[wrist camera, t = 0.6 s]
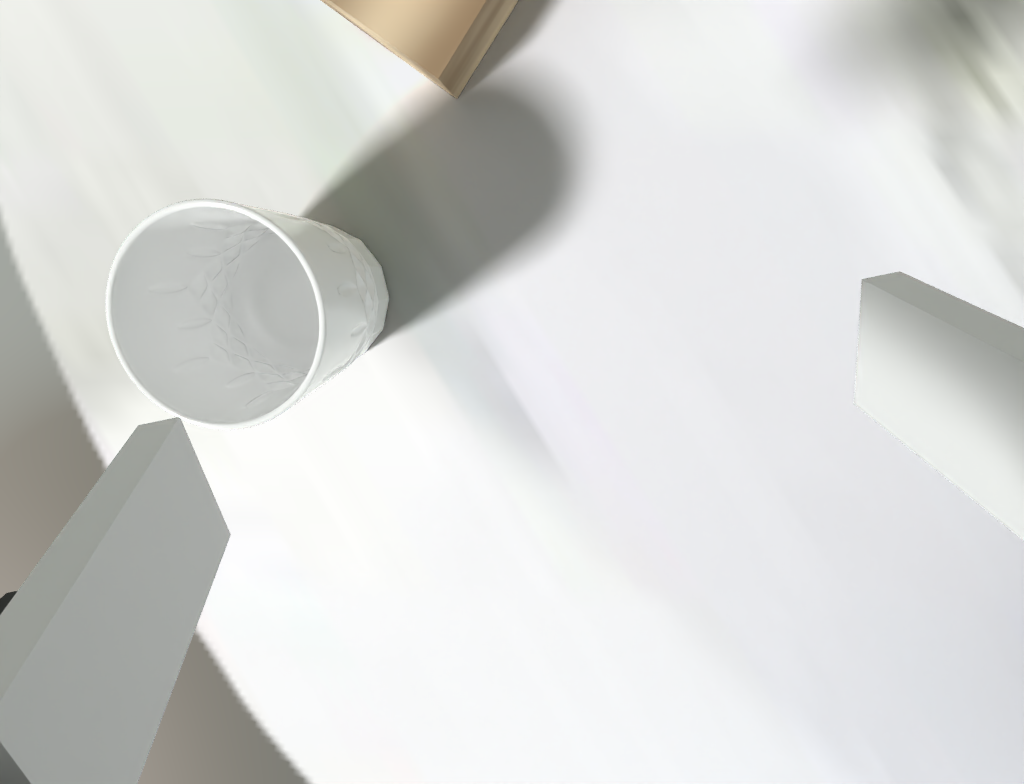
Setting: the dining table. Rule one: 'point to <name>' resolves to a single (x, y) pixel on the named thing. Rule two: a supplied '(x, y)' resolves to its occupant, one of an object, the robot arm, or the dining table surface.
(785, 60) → the dining table surface
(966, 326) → the robot arm
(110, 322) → the white cup
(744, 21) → the dining table surface
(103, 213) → the dining table surface
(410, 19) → the tan square panel
